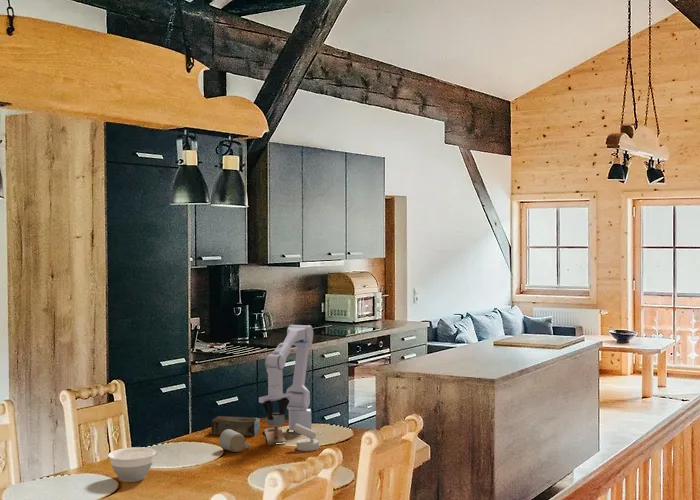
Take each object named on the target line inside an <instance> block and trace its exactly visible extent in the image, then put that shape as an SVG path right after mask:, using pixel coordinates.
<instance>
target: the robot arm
mask: <svg viewBox="0 0 700 500" xmlns="http://www.w3.org/2000/svg"><path fill="white" fill-rule="evenodd" d="M313 341H314V329H313V327H312V325H310V324H308V325H303V324H289V326H288V327H287V330H286V337H285V338H284V340H283V342H280V343H279V344H278V345H277V346H276V348H274V350H273V352H272V353H270V354H268V355H266V357H265V361H264V365H265V368H266V373H267V383H268V384H267V385H268V387H267V390H268V391H267V392H268V393H267V394H268V395H263V396H260V397H258V403H260V404H261V405H262V406H263V408H264V410H265V412H266V413H265V414H266V419H267V418H268V419H269V420H272V413H273V409H274V408H273V407H274V403H273V402H275V401H277V404H278V413H281V414H284V415H285V413H286V410H288V426H287V427H286V428H289V430H293V429H294V427H295V424H296V423H297V424H299V425H301V426H304V427H306V428H308V429H311V430H312V410H311V408H309V407H310V404H311V391H310V390H309V389H308V388H307V387H306V386H305V383H306V375H307V369H308V368H307V365H308V359H309V358H308V357H309V351H310V350H309V349H310V347H311V346H312V345H313ZM293 346H295V347H296V354H295V362H294V370H293V380H292V384H291V385H290V386H289V387H288V388H287V389H286V391H285V393H284V391H283V385H284V384H283V369H284V368H285V366H286V362H287V357H289V356H290V353H291V351H292V350H291V349H292V347H293Z"/></svg>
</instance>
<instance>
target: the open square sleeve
mask: <svg viewBox="0 0 700 500" xmlns="http://www.w3.org/2000/svg"><path fill="white" fill-rule="evenodd" d="M266 425H268V426H271V427H273V428H274V427H279V426H285V414H281V413H279V412H274V413H273V412H272V420H269V419H268V418H267V417H266Z"/></svg>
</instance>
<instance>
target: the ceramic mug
mask: <svg viewBox="0 0 700 500" xmlns="http://www.w3.org/2000/svg"><path fill="white" fill-rule="evenodd" d="M219 435H220V436H219V446H220V447H221V448H222V449H224V450H227V451H229V452H233V453H239V452H241V451H242V450H244V449H247V450H248V449H249V447H250V444H248V443H246V439H245V435H241V434H240V433H238V432H236V431H233V430H231V429H227V430H224V431H223V432H222V433H221V434H219Z"/></svg>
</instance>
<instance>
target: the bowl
mask: <svg viewBox="0 0 700 500" xmlns="http://www.w3.org/2000/svg"><path fill="white" fill-rule="evenodd" d="M156 453H157V451H156V450H155V449H153V448H151V447H143V446H142V447H141V446H135V447H133V446H132V447H131V446H130V447H125V448H119V449H115V450H112V451H111V452H109V453H108V454H107V458H109V459H110V464H111V468H112V469H113V472H114V473H115V475H116V476H117V477H118V479H119V481H121V482H124V483H128V482H129V483H132V482H140V481H142V480H144V479H146V475H147V474H148V472H149V471H150V469H151V467H152V464H153V460H154V458H153V457H154V456H155V455H156Z"/></svg>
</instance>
